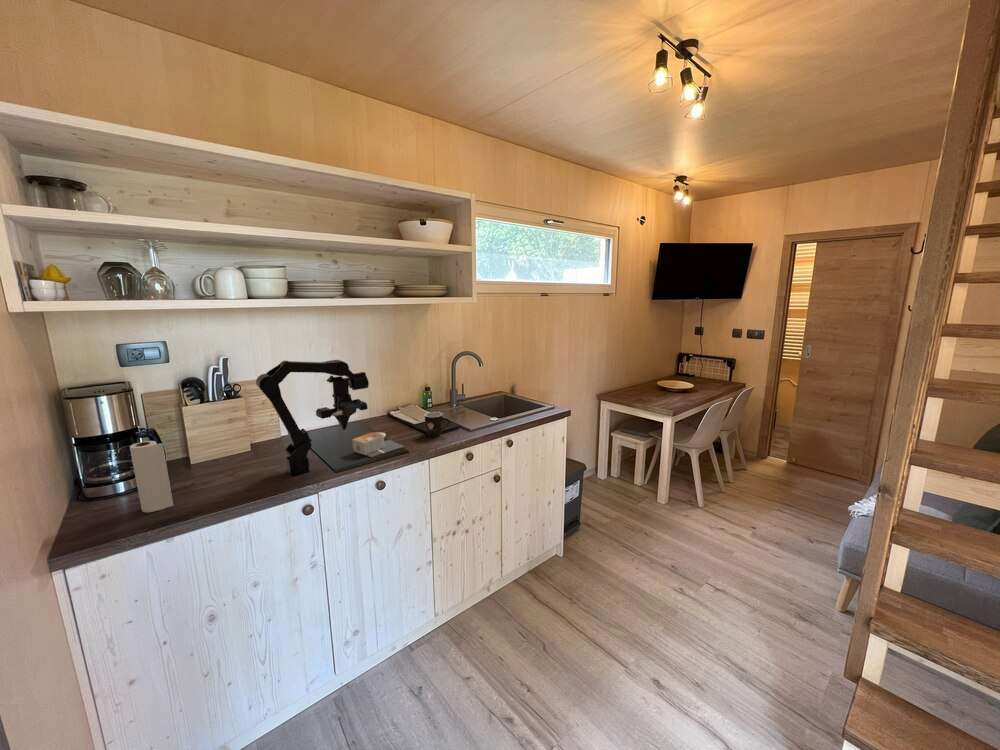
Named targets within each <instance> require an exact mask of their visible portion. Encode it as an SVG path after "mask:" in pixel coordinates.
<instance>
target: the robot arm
mask: <svg viewBox="0 0 1000 750" xmlns="http://www.w3.org/2000/svg"><path fill="white" fill-rule="evenodd" d="M290 373H311V374H312V373H315V374H316V373H317V374H319V373H320V374H321V373H322V374H328V375H330V376H329V377H328V378H327V379H326V382H327V383H332V394H331V397H332V398H333V404H332V407H333V408H329V407H320V408H317V409H316V410H315V416H316V417H318V418H320V419H322V420H323V419H328V418H331V417H332V416H333V417H334V418H335V419H336V420H337V422H338V423H339V426H340V428H341V430H342V431H344V430H346V429H347V426H348V423H349V420H350V418H351V416H352V415H355V413H357V409H358V410H359V411H365V410H368V409H369V408H368V404H367V402H365V401H362V400H361V399H359V398H357V399H352V396H351V394H350V390H349V389H351V390H352V391H358V390H364V389H368V388H369V383H370V382H369V380H368V377H367V374H366V372H365V371H360V372H355V373H354V372H352V371H351V370H350V366H349V364H348V363H347V362H345V361H343V360H340V359H332V360H327V361H322V362H321V361H320V362H319V361H293V360H292V361H291V360H283V361H281V362H280V363H279V364H278V365H275V366H274V367H273V368H271V369H269V370H268V371H267V372H266V373H262V374H260V375H258V376H257V378H256V379H255V384H256V387H258V388H259V390H260V391H261V392H262V393H263V394H264V396H265V397H266V398H267V399H268V400H269V402H270V403H271V405H272V406H273V408H274V410H275V412H276V413H277V416H278V417H279V418H280V421H281V423H282V424H283V426H284V428H285V430H286V432H287V435H288V440H289V444H288V446H286V448H285V450H284V451H285V453H286V455H287V456H286V457H285V459H286V466H287V470H285V471H286V473H287V474H289V476H291V477H295V476H296V477H297V476H298V475H301V474H305V473H309V472H310V463H309V462H310V461H309V457H308V453H309V452H310V451H311V449H312V446H313V445H312V441H313V440H312V439H311V438H310V436H309V432H308V431H307V430H306V429H305V428H300V427H299V425H298V424H297V423H296V421H295V419H294V417H293V415H292V413H291V411H290V410H289V407H288V405H286V402H285V401H284V399H283V397H282V391H281V388H280V383H282V382H283V381H284V380H285V378H286V377H287V376H288V375H290Z"/></svg>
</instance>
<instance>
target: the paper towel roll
mask: <svg viewBox="0 0 1000 750" xmlns="http://www.w3.org/2000/svg"><path fill="white" fill-rule="evenodd" d="M129 451H130V456H131V461H132V467H133V471H134V476H135V481H136V482H135V483H136V487H137V492H138V498H139V501H140V508H141V511H142V512H143V513H153V512H157V511H158V512H159V511H161V510H164V509H167V508H170V507H173V506H174V502H173V501H174V500H173V496H172V490H171V485H170V484H171V482H170V479H169V473H168V466H167V459H166V455H165V450H164V443H157V442H156V441H155V440H146V441H141V442H136V443H133V444H131V445H130V446H129Z"/></svg>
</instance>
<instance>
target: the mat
mask: <svg viewBox="0 0 1000 750" xmlns="http://www.w3.org/2000/svg"><path fill="white" fill-rule="evenodd" d="M384 446H385V447H384V448H381V449H379V450H377V451H374V452H372V453H369V454H367V455H365V456H366V457H368V458H369V457H370V459H372V458H371V457H373V458H375V457H374V456H376V457H378V456H377V455H380V454H383V455H385V454H384V453H386V454H388V453H387V452H389V453H391V452H390V451H392V452H394V451H393V450H396V449H399V448H402V449H404V448H405V445H403V444H399V443H398V442H396V441H393V440H391V439H387V440H384ZM399 450H400V449H399ZM396 451H397V450H396ZM380 456H381V455H380Z"/></svg>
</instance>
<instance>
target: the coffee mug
mask: <svg viewBox="0 0 1000 750" xmlns="http://www.w3.org/2000/svg"><path fill="white" fill-rule="evenodd" d="M443 415H444V414H443V413H442V412H440V411H430V412H427V413H424V416H423V417H424V422H425V428H426V434H427V436H428V437H433V438H435V437H439V436H441V435H442V430H444V429H445V428H447V427H448V426H449V425H450V419H449V418H447V417H444V418H443ZM444 420H446V421H447V424H446V425H445V426H443V425H442V424H443V421H444Z"/></svg>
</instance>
